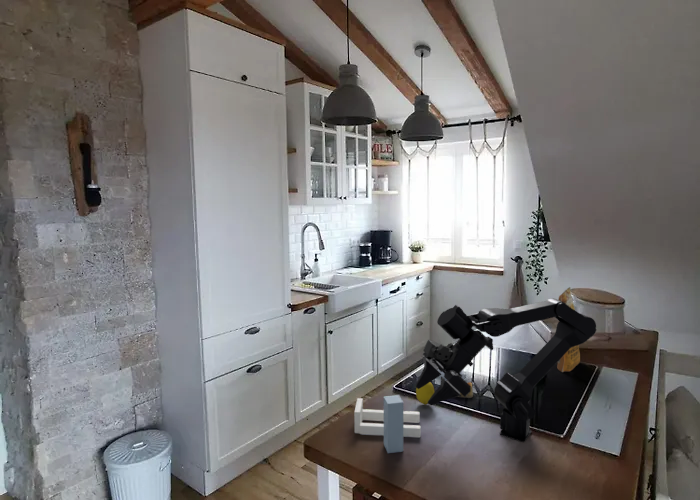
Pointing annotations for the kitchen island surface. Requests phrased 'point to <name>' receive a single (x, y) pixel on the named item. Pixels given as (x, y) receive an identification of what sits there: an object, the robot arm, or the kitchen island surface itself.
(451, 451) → the kitchen island surface
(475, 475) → the kitchen island surface
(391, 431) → the blue gray block
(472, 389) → the pastry
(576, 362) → the pancake mix bag
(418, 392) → the lemon
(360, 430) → the track
